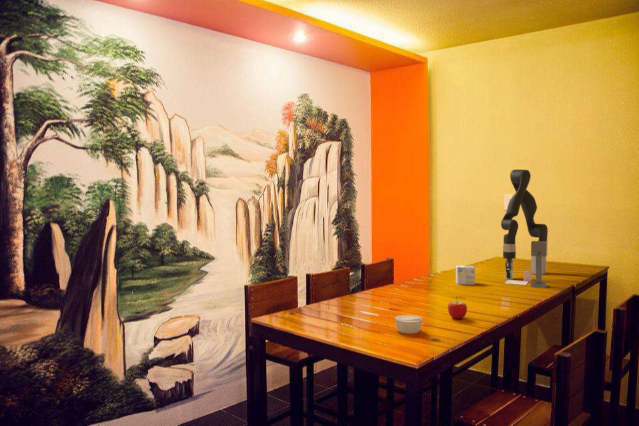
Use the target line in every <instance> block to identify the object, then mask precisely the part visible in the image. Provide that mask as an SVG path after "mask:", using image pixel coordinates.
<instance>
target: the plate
mask: <svg viewBox="0 0 639 426" xmlns="http://www.w3.org/2000/svg"><path fill="white" fill-rule="evenodd" d="M529 282H530V281H523V280H515V279H513V280H509V279H506V281H505V282H504V284H505V285H515V286H516V285H519V286H527V285H528V283H529Z"/></svg>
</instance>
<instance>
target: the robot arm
mask: <svg viewBox="0 0 639 426" xmlns="http://www.w3.org/2000/svg"><path fill="white" fill-rule="evenodd" d="M510 171H511V172H510V173H509V178H510V182H511V184H512V186H513V188H514V190H515V193H514V194H513V195H512V196H511V198H510V199H509V201H508V205H507V209H506V212H505V214H504V215H503V217H502V219H501V222H500V227H501V229H502V230H504V231H507V233H506V234H503V245H502V258H503V259H506V261H505V269H506V272H507V278H510V275H511V269H514V260H515V259H517V258H516V256H517V251H516V250H517V246H516V236H517V234H518V230H519V222H518V221H517V220H516V219H514V218H516V217H518V215H519V213H520V208H521V211H522V212H523V215H524V219H525V222H526V227H527V231H528V235H529V236H530V237H531V238H538V240H537V241H545V242H547V243H548V231H549V229H548V226H547V224H544V223H536V222H535V219H534V217H535V215H536V212H537V210H538V205H537V201H536V199H535V197H534V196H533V194H532V193H531V192H530V191H528V190H527V189H528V186H529V184H530V181H531V172H530V170H528V169H513V170H510ZM507 269H509V270H507ZM530 271H532V275H533V274H534V275H536V256H531V255H530ZM542 275H547V256H546V257H542Z"/></svg>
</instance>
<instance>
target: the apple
mask: <svg viewBox="0 0 639 426" xmlns="http://www.w3.org/2000/svg"><path fill="white" fill-rule="evenodd" d="M455 297H456V299H458V297H457V295H456V296H455ZM467 306H468V305H467V304H466V302H464V301H460V300H451V301H450V302H448V304H447V311H448V314H449V316H450V317H451V318H453V319H455V320H460V319H463V318H465V316H466V315H467V313H468V307H467Z"/></svg>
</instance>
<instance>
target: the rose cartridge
mask: <svg viewBox="0 0 639 426" xmlns="http://www.w3.org/2000/svg"><path fill="white" fill-rule="evenodd" d="M522 277H523V280H522V281H529V282H530V281H531V282H532V281H533V274H532V271H531V270H526V269H525V270H523V276H522Z"/></svg>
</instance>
